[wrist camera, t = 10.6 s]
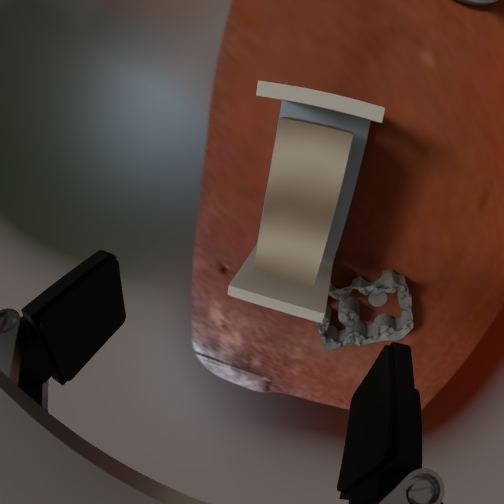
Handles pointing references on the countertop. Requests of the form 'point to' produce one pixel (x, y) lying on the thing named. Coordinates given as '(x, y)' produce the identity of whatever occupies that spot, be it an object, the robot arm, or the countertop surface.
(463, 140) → the countertop surface
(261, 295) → the peg stand
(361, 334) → the egg carton
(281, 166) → the beige wavy block
